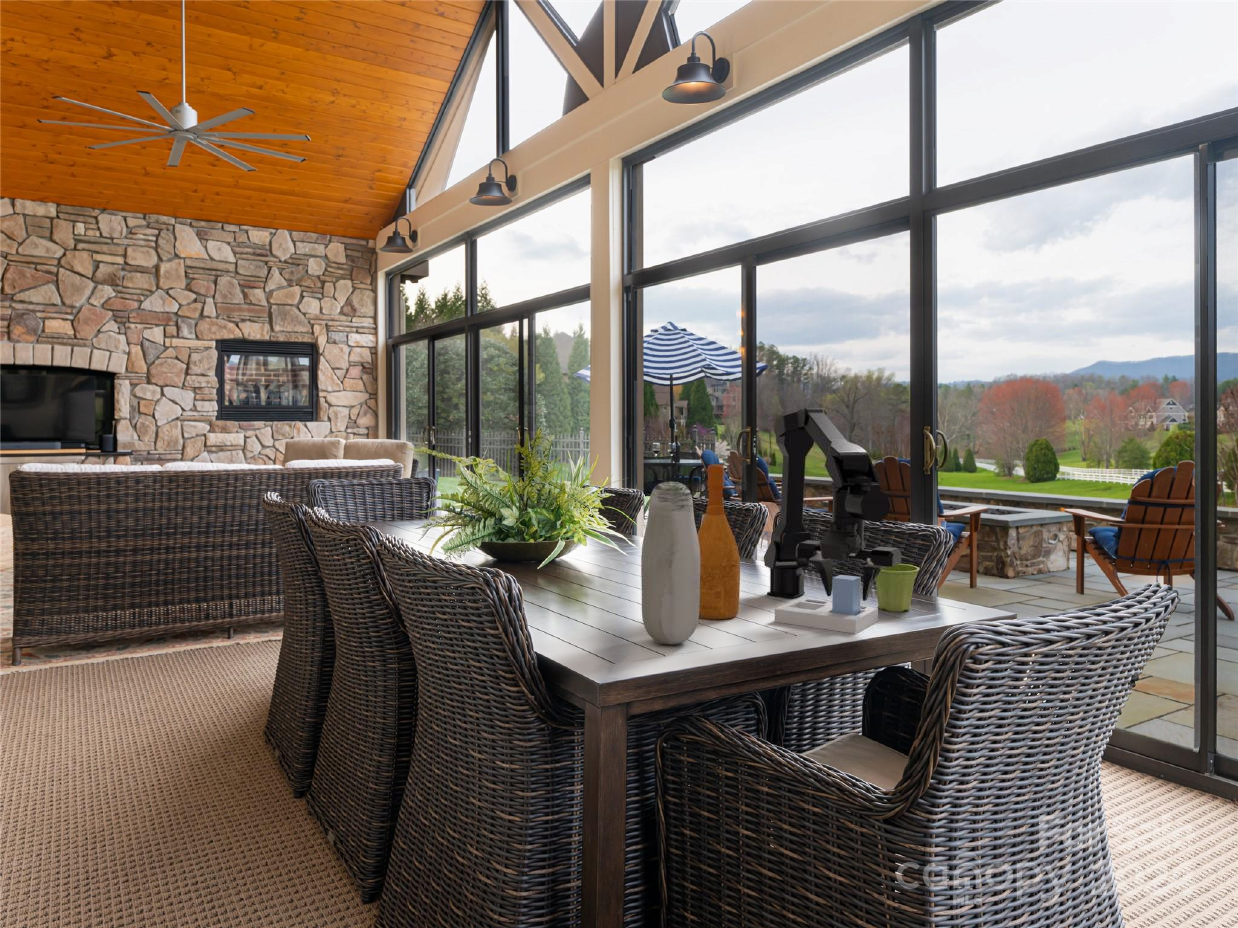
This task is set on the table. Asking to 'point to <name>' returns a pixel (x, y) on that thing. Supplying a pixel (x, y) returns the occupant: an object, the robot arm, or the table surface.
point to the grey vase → (670, 566)
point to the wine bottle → (717, 555)
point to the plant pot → (896, 587)
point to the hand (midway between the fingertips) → (846, 598)
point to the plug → (846, 595)
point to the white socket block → (824, 616)
